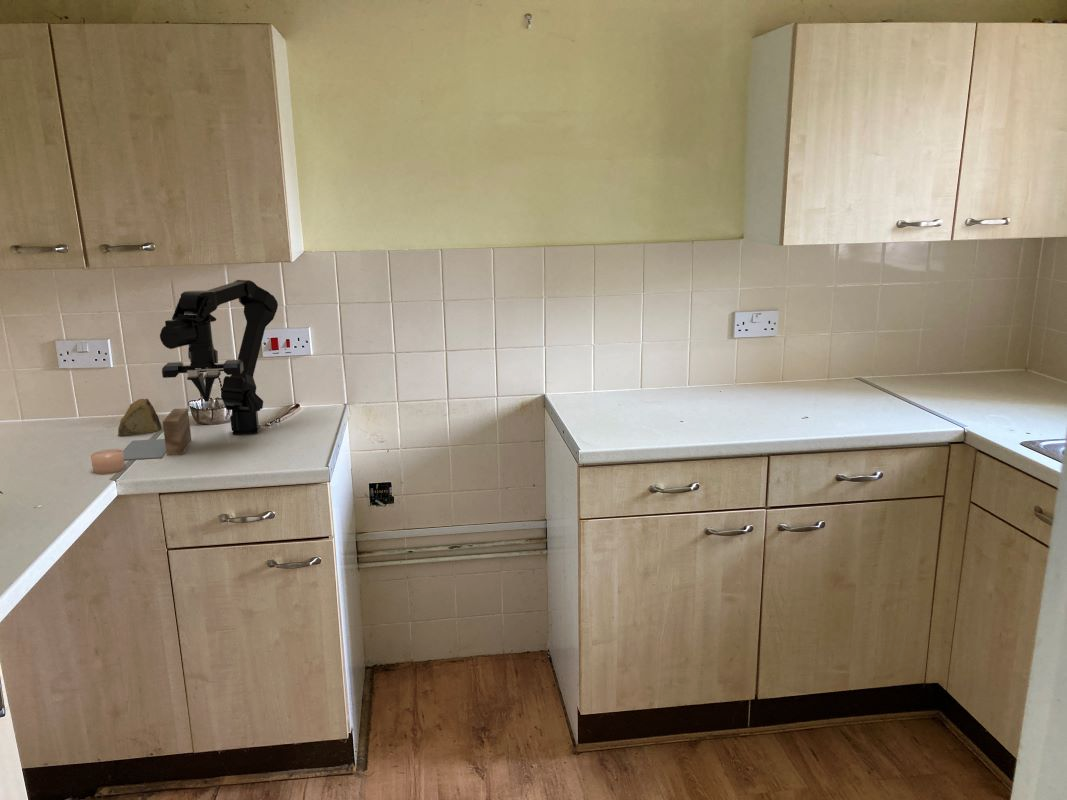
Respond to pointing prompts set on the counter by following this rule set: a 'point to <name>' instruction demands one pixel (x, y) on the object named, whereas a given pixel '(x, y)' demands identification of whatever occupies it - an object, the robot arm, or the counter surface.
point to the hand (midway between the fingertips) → (207, 401)
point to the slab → (177, 431)
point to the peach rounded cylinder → (108, 461)
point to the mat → (145, 449)
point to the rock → (139, 419)
